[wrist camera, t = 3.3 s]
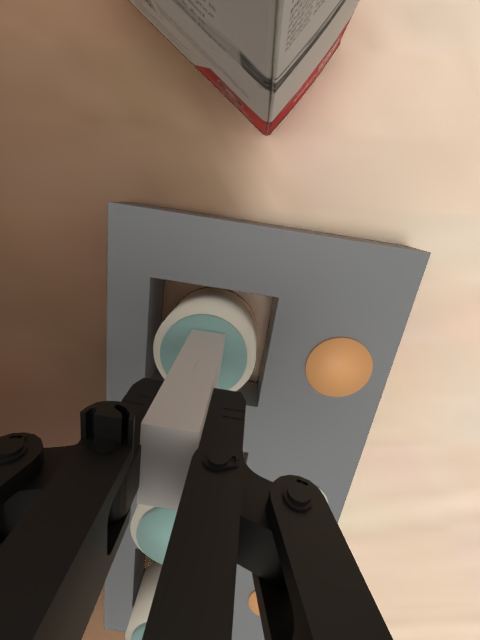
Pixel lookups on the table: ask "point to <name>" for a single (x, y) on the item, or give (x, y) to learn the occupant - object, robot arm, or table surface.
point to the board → (279, 352)
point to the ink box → (254, 46)
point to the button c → (214, 316)
